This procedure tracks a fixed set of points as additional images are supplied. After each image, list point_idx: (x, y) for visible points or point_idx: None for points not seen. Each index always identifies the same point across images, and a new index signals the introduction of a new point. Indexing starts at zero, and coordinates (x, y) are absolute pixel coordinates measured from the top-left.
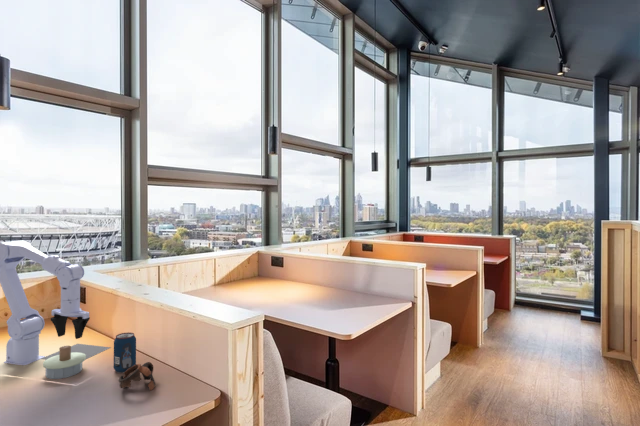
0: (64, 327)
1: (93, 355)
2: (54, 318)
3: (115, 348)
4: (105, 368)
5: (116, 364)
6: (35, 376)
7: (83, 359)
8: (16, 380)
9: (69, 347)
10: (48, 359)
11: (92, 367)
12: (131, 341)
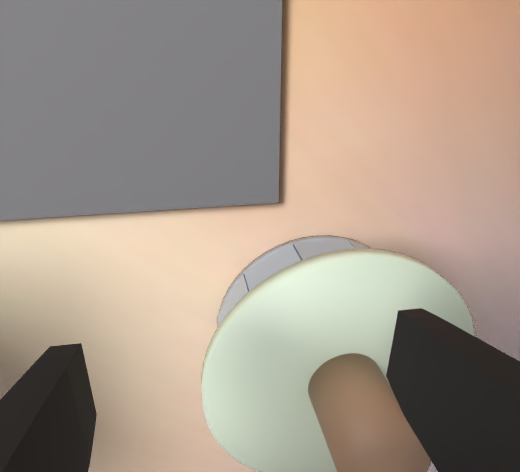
0: (32, 463)
1: (280, 13)
2: None
3: None
4: (509, 184)
5: None
6: (179, 395)
7: (471, 333)
8: (130, 451)
9: (428, 458)
10: (226, 427)
11: (416, 198)
12: None
